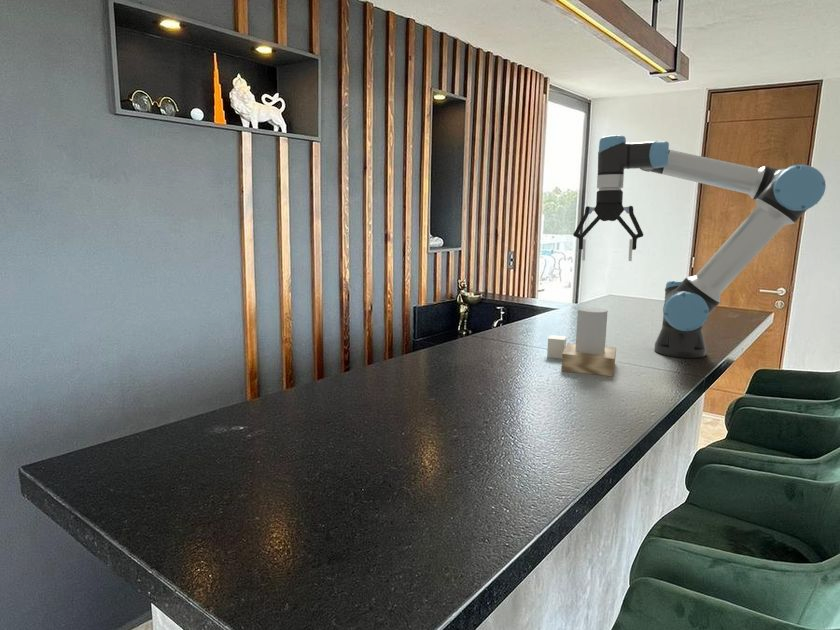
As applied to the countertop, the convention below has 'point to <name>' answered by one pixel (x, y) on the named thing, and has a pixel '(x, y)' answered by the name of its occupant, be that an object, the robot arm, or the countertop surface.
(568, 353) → the oak block
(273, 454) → the countertop surface
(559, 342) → the cream block
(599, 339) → the grey cylinder
